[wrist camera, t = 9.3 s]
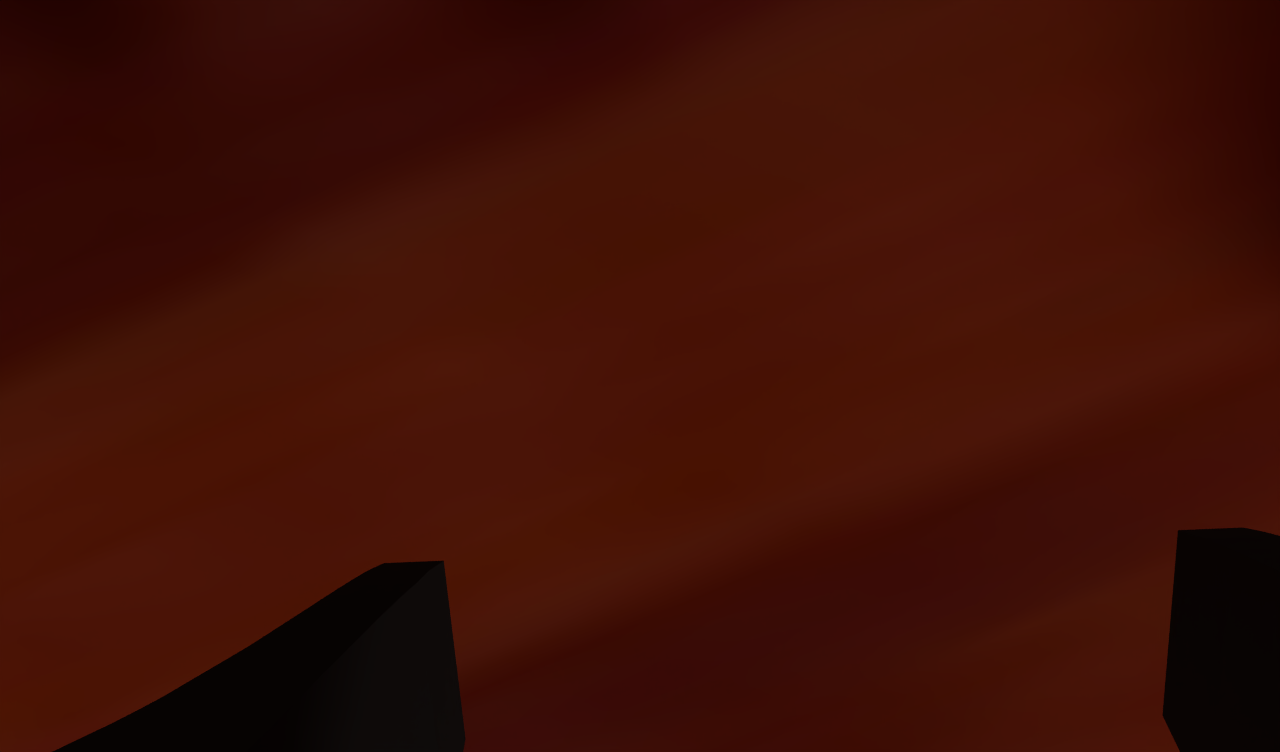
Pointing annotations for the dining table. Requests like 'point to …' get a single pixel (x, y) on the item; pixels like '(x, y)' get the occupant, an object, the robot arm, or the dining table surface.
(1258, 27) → the dining table surface
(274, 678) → the robot arm
